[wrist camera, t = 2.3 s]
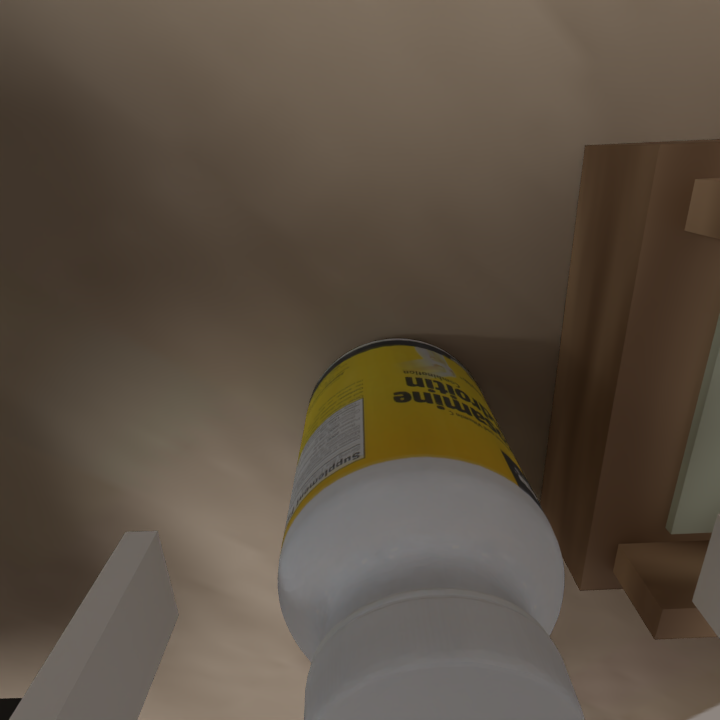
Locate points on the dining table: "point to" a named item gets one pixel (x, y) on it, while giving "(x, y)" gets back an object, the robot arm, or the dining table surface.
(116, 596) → the robot arm
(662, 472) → the wooden tray
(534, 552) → the pill bottle
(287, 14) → the dining table surface
